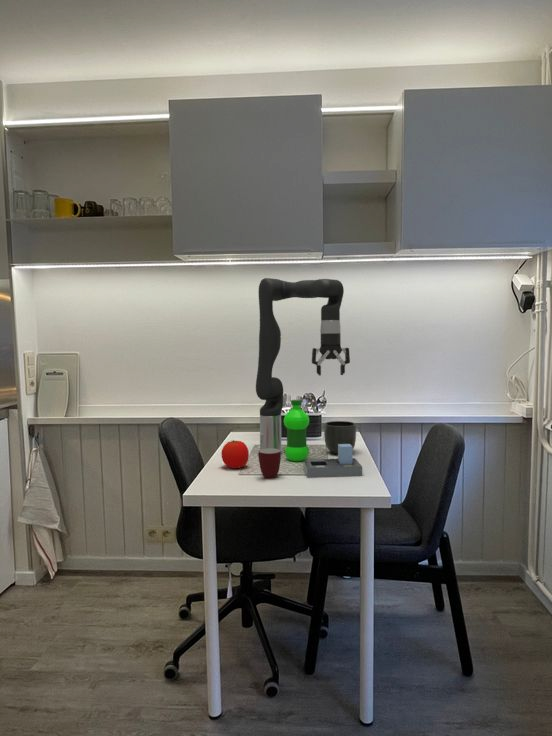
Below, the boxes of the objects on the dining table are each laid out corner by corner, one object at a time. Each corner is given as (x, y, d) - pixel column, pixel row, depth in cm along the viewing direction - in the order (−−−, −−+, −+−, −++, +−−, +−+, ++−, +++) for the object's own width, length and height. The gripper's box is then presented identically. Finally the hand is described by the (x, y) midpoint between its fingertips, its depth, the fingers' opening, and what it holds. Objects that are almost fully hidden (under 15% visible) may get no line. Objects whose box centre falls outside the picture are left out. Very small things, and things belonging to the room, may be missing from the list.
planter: (328, 448, 225) (328, 420, 224) (359, 450, 220) (359, 421, 219) (320, 455, 212) (320, 425, 211) (352, 458, 207) (352, 427, 206)
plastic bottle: (302, 465, 197) (301, 402, 195) (279, 462, 203) (278, 401, 201) (314, 459, 205) (313, 399, 204) (292, 456, 211) (291, 398, 209)
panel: (307, 479, 178) (307, 467, 178) (303, 470, 190) (303, 459, 190) (362, 477, 179) (362, 466, 179) (355, 468, 191) (355, 457, 191)
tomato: (250, 463, 200) (249, 437, 200) (247, 471, 190) (246, 443, 189) (224, 463, 201) (223, 437, 200) (219, 471, 191) (219, 443, 190)
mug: (261, 472, 187) (261, 446, 186) (283, 473, 186) (282, 447, 185) (257, 481, 177) (256, 453, 176) (279, 481, 176) (279, 453, 175)
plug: (340, 473, 183) (340, 446, 182) (338, 470, 187) (337, 444, 186) (352, 473, 183) (352, 446, 182) (349, 470, 187) (349, 443, 187)
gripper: (313, 332, 184) (313, 376, 185) (351, 332, 185) (351, 375, 186) (310, 332, 192) (310, 374, 193) (347, 332, 192) (347, 374, 193)
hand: (330, 375), depth 189 cm, fingers open, 8 cm apart
